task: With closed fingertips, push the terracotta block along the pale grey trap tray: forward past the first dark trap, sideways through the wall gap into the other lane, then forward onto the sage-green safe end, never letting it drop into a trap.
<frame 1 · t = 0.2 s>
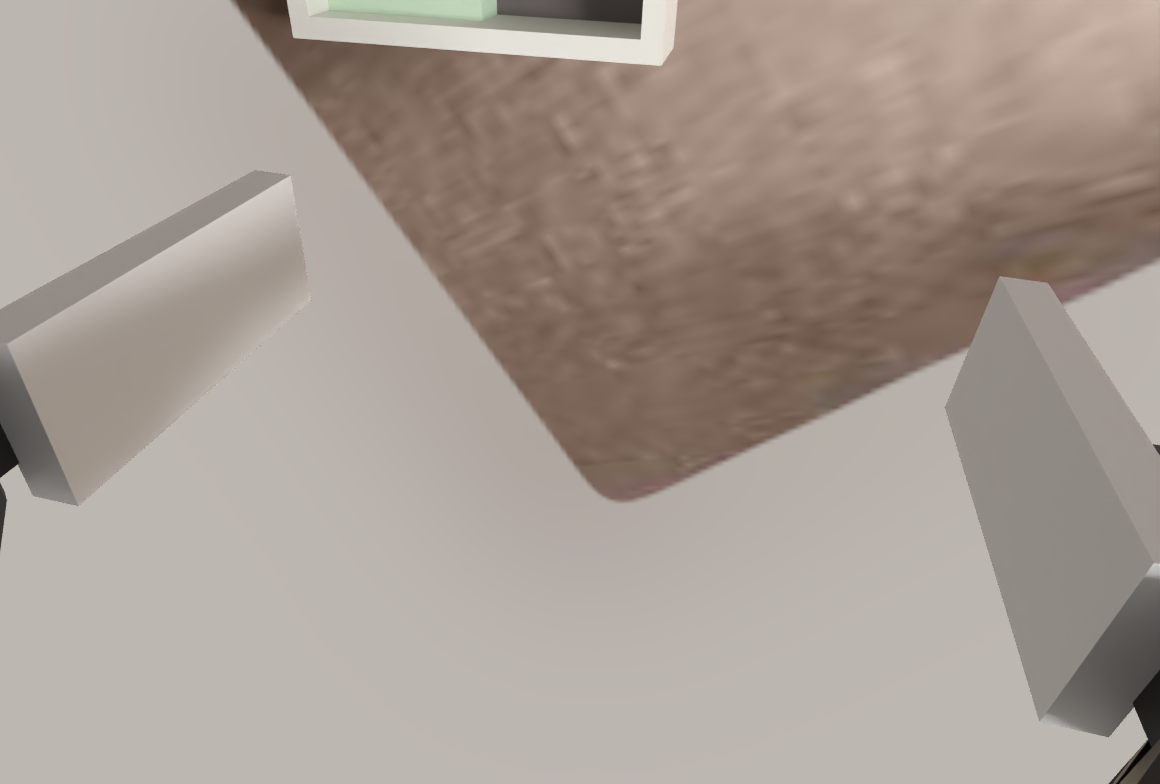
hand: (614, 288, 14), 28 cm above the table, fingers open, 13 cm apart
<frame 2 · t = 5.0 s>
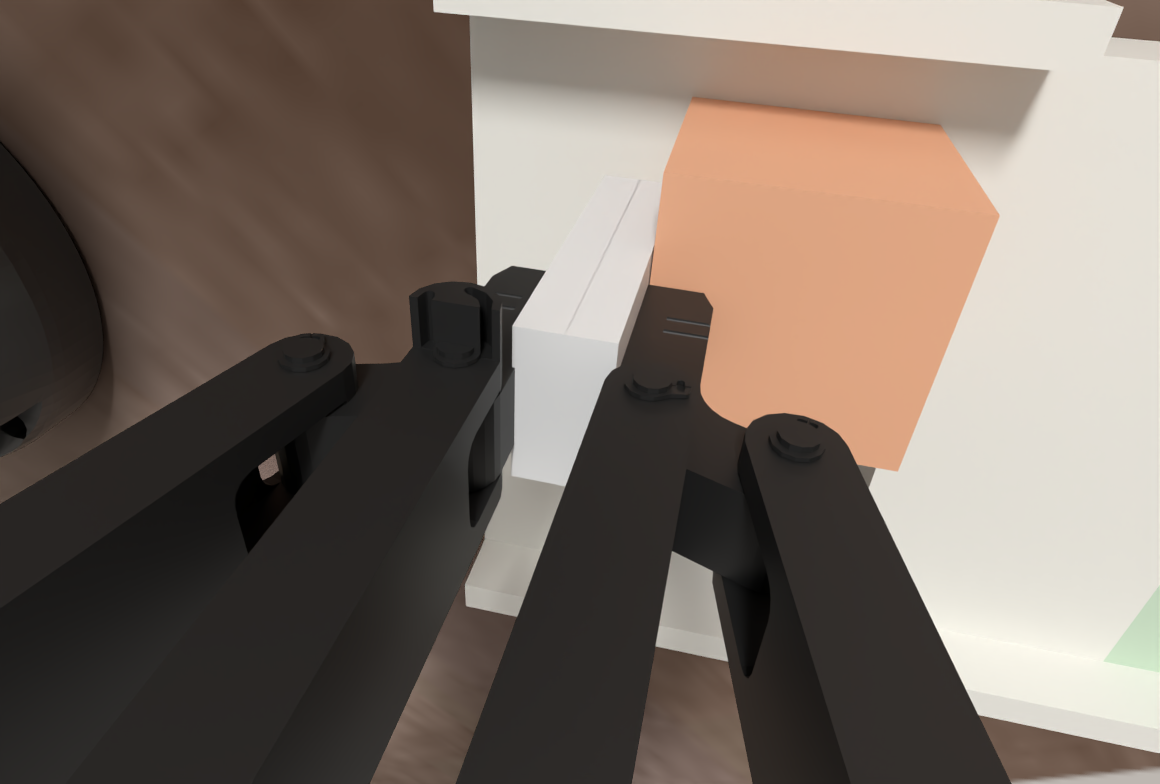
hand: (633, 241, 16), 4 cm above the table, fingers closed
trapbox: (985, 359, 20), on the table
block: (787, 225, 17), point 3 cm above the table, touching gripper
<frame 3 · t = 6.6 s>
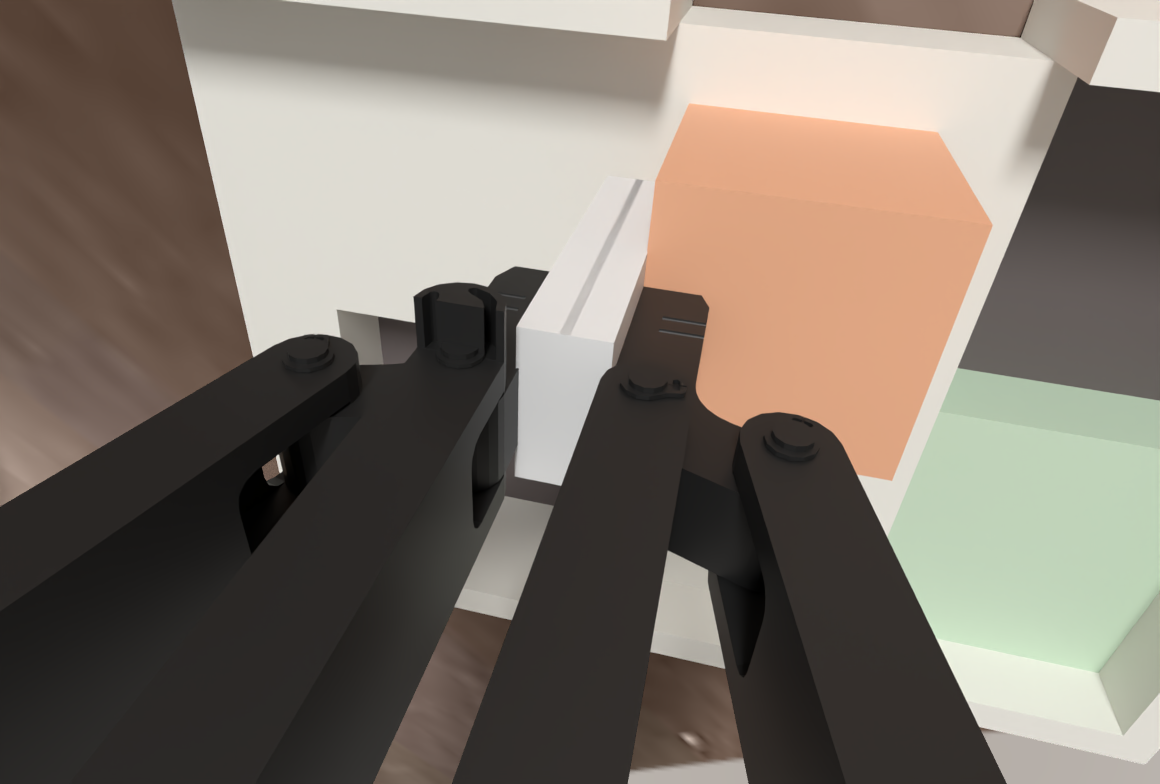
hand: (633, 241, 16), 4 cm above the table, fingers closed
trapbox: (722, 326, 21), on the table
block: (784, 231, 17), point 3 cm above the table, touching gripper, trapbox
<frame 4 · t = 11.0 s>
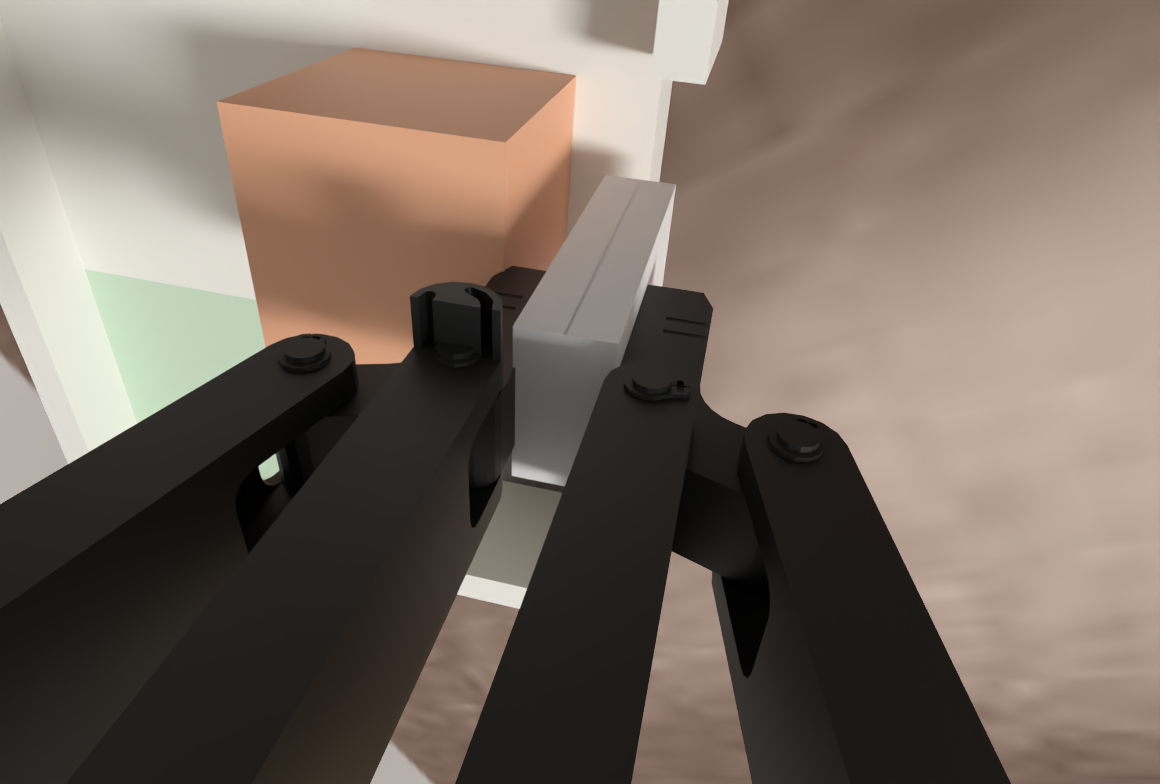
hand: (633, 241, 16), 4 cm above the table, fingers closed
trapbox: (362, 84, 20), on the table
block: (465, 175, 18), point 3 cm above the table, touching gripper
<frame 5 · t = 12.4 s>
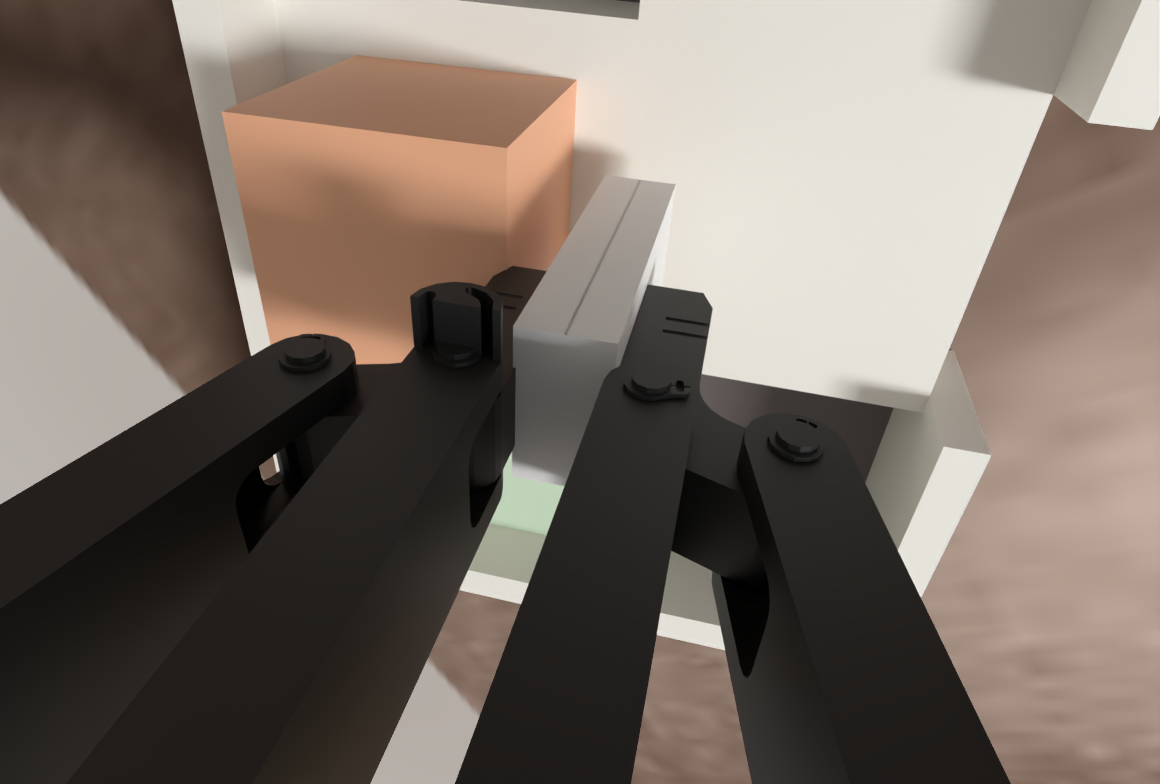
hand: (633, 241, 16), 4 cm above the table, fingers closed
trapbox: (643, 116, 18), on the table
block: (468, 180, 18), point 2 cm above the table, touching gripper, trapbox
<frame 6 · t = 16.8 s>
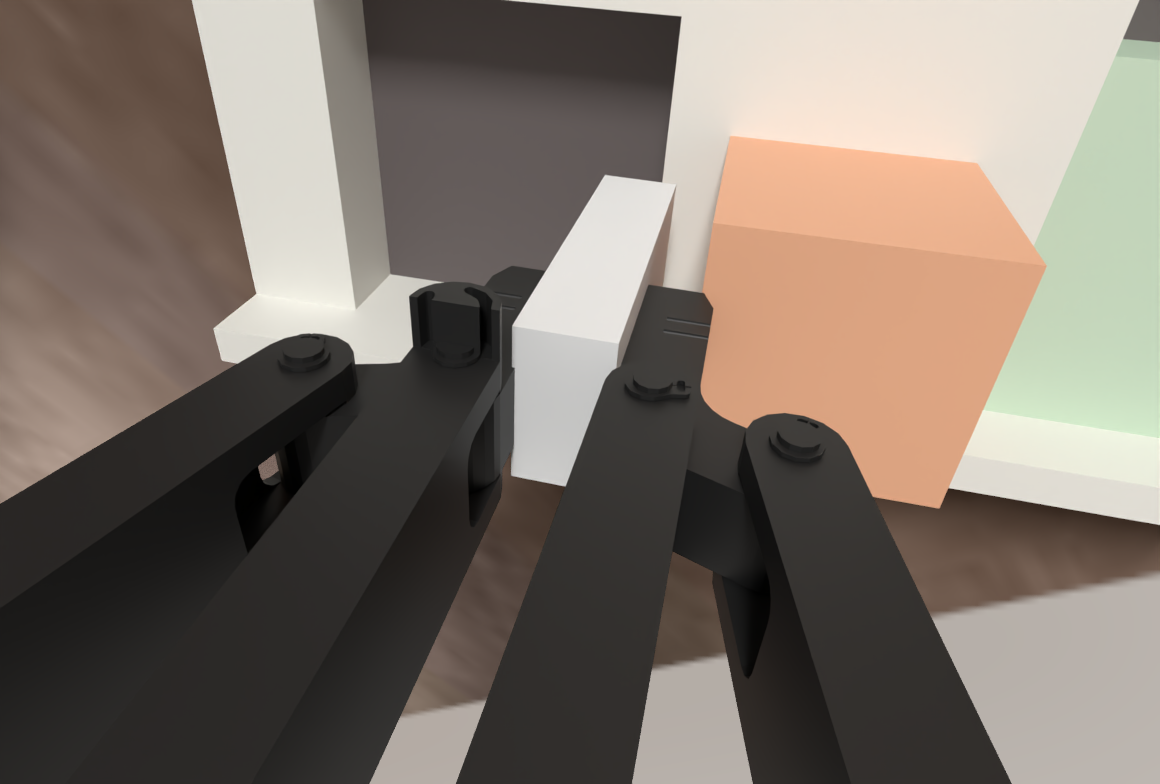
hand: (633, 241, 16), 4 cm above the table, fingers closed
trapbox: (806, 9, 17), on the table
block: (822, 259, 17), point 2 cm above the table, touching gripper, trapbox
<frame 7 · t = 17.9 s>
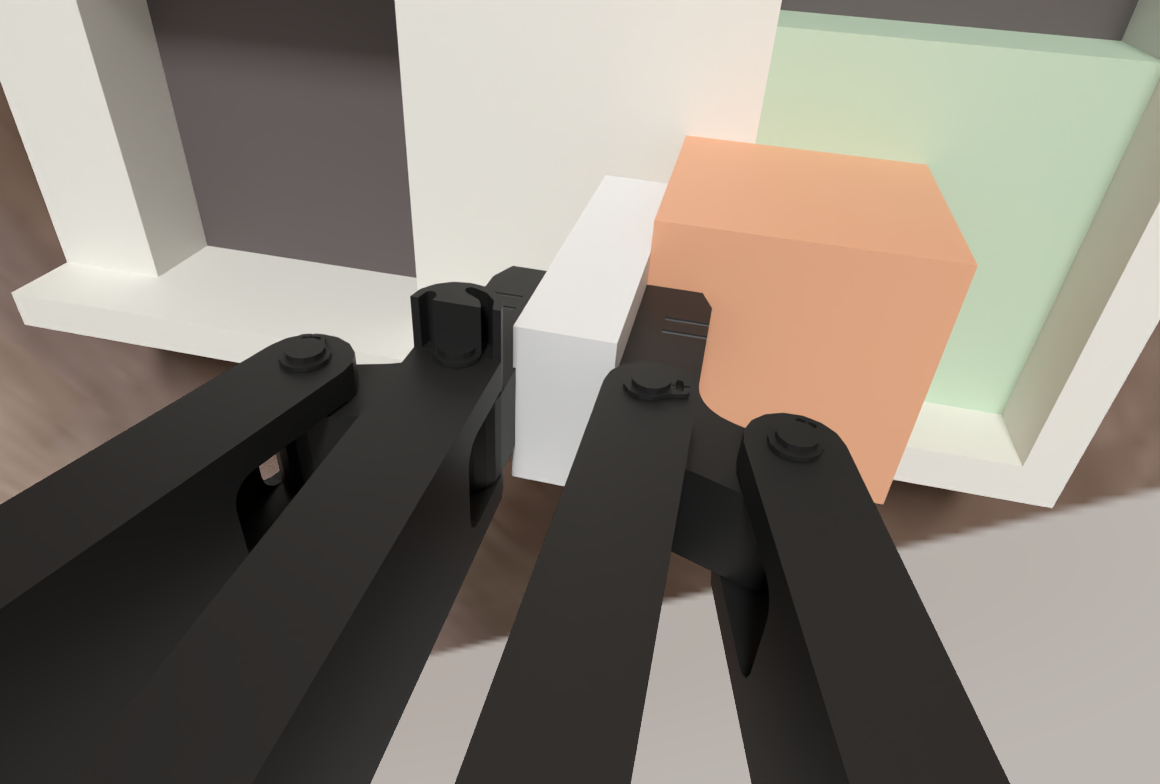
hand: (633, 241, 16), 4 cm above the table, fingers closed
block: (779, 258, 17), point 3 cm above the table, touching gripper, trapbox
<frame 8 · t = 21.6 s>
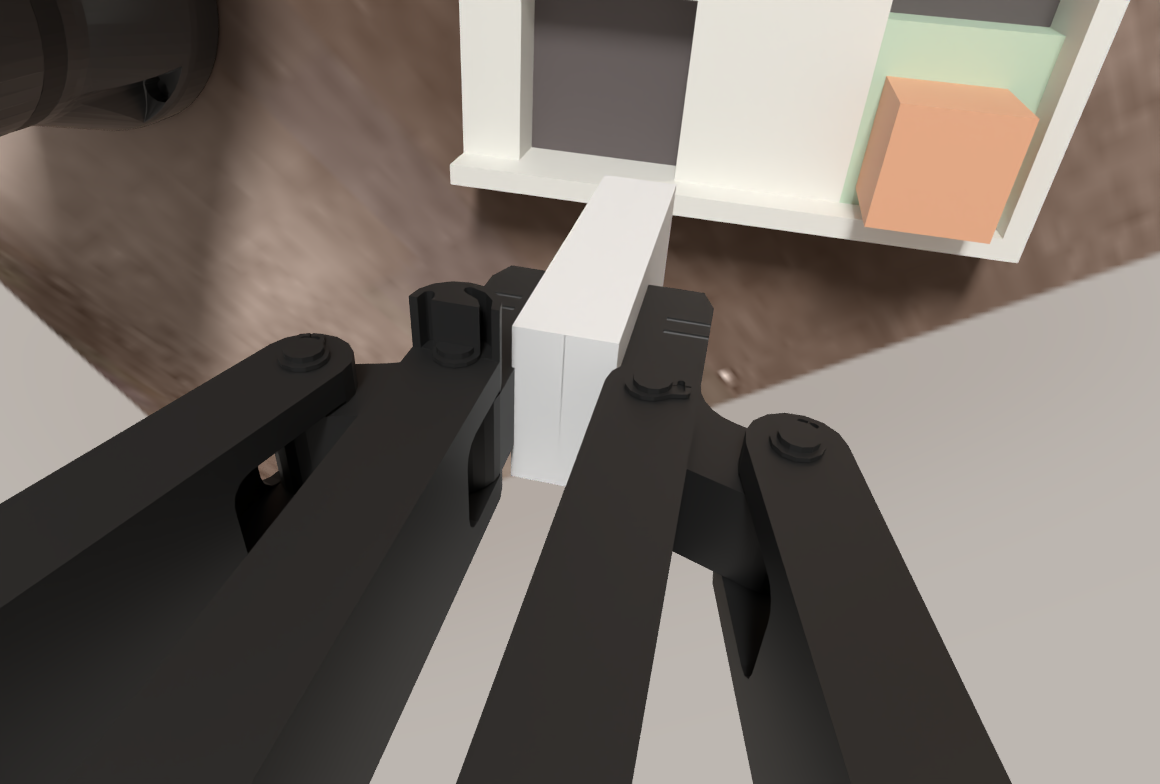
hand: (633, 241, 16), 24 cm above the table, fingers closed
block: (927, 140, 34), point 2 cm above the table, touching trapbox
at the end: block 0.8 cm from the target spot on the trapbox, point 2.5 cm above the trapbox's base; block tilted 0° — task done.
